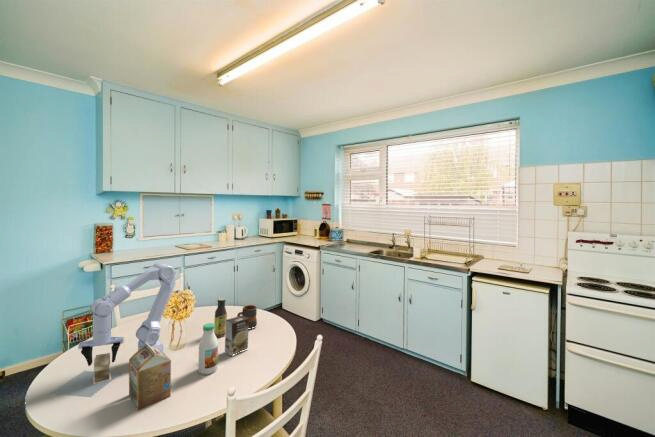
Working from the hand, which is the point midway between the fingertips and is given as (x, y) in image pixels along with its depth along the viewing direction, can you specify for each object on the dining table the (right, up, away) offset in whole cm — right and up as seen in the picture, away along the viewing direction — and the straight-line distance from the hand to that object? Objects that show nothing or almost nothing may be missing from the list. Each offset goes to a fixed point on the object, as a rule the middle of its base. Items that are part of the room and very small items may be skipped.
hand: (102, 362), depth 117 cm
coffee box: (+46, -8, +26) cm, 53 cm away
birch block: (0, -2, 0) cm, 2 cm away
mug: (+43, -6, +52) cm, 68 cm away
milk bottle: (+38, -8, +10) cm, 40 cm away
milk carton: (+24, -9, -8) cm, 27 cm away
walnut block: (0, -6, 0) cm, 6 cm away
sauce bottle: (+32, -6, +42) cm, 53 cm away
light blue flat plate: (-4, -7, -3) cm, 8 cm away
